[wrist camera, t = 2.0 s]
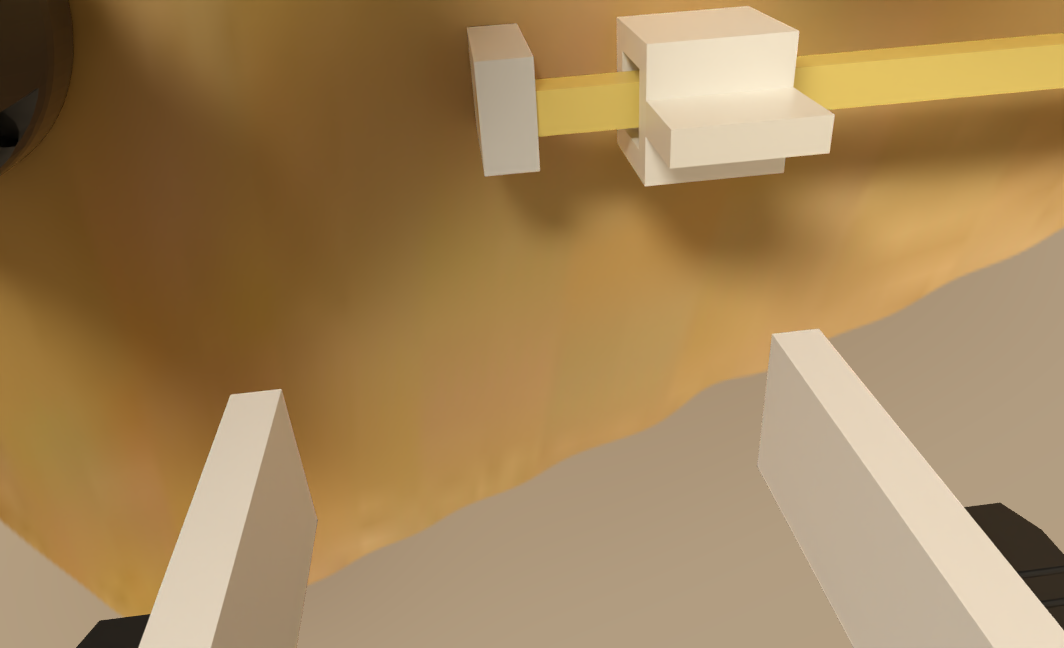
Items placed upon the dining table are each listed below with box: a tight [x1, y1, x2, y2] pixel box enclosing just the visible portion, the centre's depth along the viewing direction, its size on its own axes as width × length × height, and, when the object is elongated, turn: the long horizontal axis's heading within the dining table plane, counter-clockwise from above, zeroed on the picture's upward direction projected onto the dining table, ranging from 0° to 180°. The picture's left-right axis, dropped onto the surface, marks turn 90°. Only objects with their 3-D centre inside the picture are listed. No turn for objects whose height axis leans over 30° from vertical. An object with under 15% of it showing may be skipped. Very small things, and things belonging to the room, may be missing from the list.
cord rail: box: [467, 23, 1064, 176], centre depth 31 cm, size 34×4×7 cm, turn 94°
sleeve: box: [617, 6, 835, 186], centre depth 27 cm, size 5×5×8 cm
